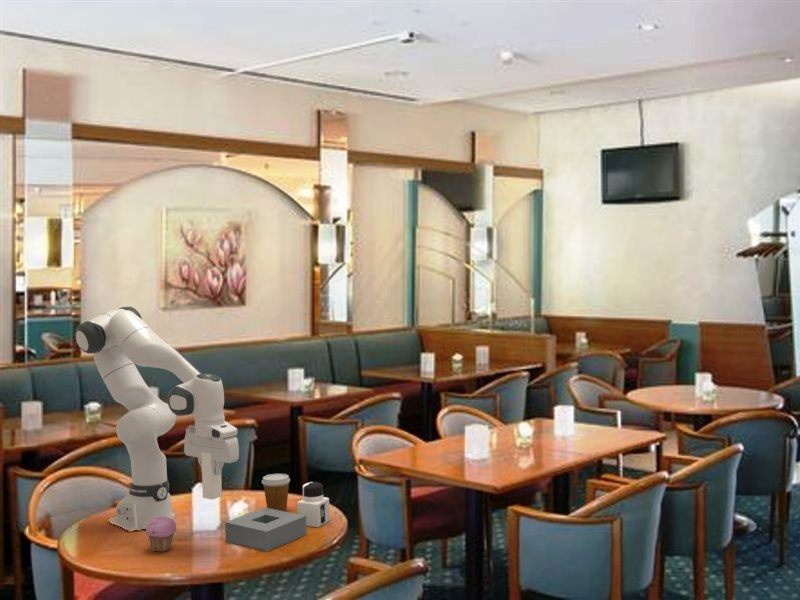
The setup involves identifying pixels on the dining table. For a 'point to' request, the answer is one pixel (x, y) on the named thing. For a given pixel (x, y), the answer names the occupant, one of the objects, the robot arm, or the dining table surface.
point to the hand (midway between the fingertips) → (211, 473)
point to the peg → (210, 478)
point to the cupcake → (161, 533)
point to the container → (314, 505)
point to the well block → (265, 529)
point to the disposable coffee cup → (276, 491)
